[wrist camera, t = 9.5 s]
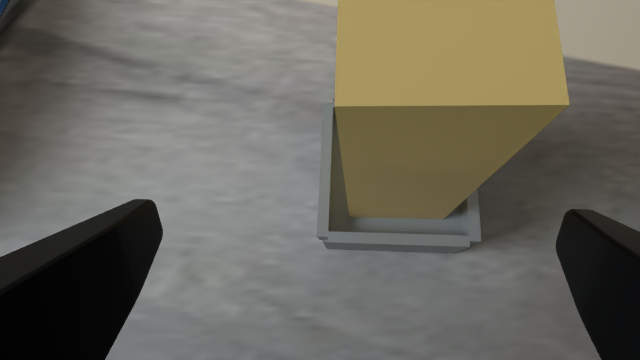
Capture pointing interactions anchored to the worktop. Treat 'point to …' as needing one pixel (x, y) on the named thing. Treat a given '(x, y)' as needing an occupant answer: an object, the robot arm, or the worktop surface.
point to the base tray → (383, 232)
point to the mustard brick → (440, 97)
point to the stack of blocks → (3, 5)
